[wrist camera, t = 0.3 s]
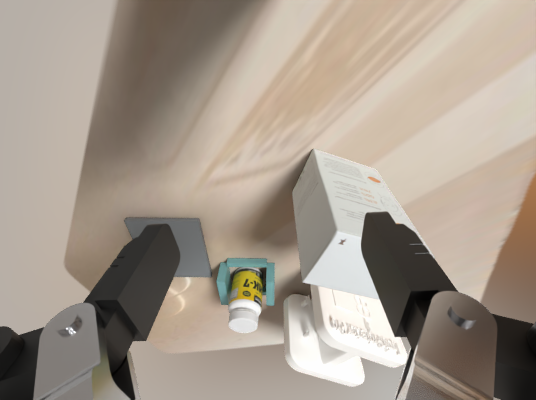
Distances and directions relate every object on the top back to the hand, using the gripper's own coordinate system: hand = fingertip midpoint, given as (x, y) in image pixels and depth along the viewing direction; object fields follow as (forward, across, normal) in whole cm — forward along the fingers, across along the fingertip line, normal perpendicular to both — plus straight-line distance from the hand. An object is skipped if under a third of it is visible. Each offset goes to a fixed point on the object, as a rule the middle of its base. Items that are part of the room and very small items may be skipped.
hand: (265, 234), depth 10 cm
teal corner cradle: (+19, +6, +25) cm, 32 cm away
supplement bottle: (+19, +6, +25) cm, 32 cm away
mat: (+18, +16, +18) cm, 31 cm away
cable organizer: (+20, -8, +30) cm, 37 cm away
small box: (+18, -6, +8) cm, 21 cm away
